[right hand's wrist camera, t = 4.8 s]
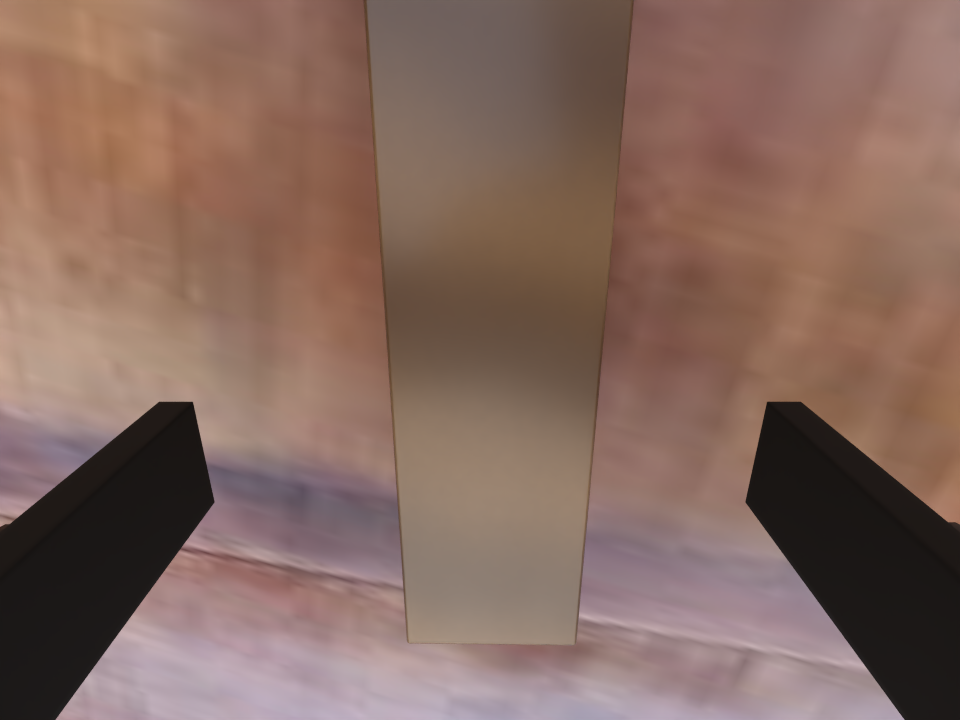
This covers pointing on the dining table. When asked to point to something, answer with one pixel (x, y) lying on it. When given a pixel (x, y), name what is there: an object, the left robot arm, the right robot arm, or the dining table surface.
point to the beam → (495, 297)
